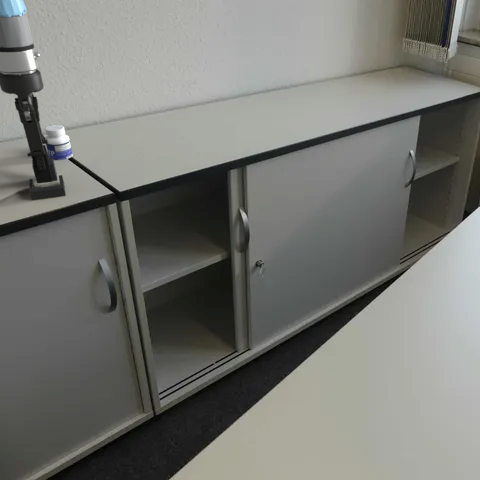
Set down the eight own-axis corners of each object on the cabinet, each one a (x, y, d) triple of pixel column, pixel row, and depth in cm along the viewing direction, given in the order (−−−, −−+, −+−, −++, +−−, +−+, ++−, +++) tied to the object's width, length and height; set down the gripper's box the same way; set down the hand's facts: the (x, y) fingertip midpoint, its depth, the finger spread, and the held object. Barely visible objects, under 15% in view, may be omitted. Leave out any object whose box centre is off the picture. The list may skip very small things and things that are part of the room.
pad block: (36, 176, 121) (32, 159, 119) (56, 173, 122) (52, 157, 120) (37, 183, 118) (32, 166, 116) (57, 180, 119) (53, 164, 117)
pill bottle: (47, 161, 134) (38, 126, 129) (69, 156, 137) (62, 122, 133) (55, 168, 131) (46, 133, 126) (77, 163, 134) (70, 129, 130)
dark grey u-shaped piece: (31, 187, 122) (29, 178, 121) (64, 182, 125) (62, 175, 124) (31, 200, 117) (29, 192, 116) (65, 195, 119) (63, 187, 118)
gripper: (40, 80, 103) (66, 191, 115) (38, 59, 116) (62, 161, 128) (-6, 82, 100) (26, 196, 112) (-3, 61, 112) (25, 165, 124)
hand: (45, 177), depth 120 cm, fingers closed on pad block, 4 cm apart
